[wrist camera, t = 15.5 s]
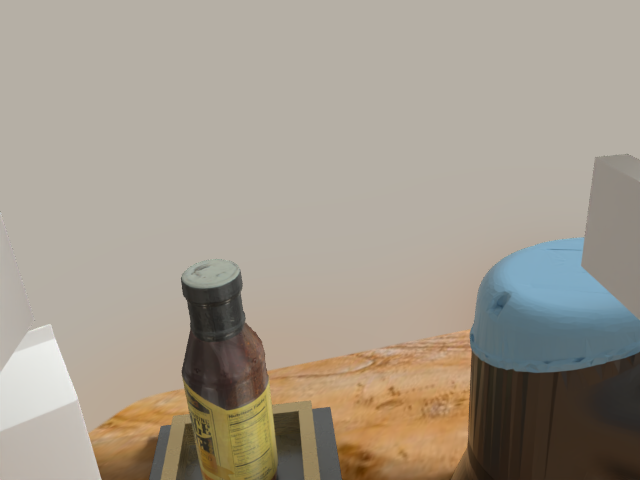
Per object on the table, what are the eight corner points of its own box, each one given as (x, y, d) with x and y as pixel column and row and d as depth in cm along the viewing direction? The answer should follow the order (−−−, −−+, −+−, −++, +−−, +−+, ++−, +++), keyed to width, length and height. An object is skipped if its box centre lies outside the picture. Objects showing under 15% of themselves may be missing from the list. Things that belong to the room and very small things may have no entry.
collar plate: (331, 419, 57) (328, 386, 55) (355, 571, 43) (352, 532, 41) (163, 438, 56) (156, 405, 55) (129, 600, 42) (118, 561, 40)
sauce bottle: (202, 462, 51) (162, 255, 43) (273, 446, 52) (248, 242, 44) (207, 524, 45) (162, 299, 37) (287, 504, 46) (260, 282, 38)
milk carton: (124, 556, 45) (63, 348, 37) (24, 612, 41) (-67, 394, 34) (97, 496, 50) (39, 303, 42) (7, 541, 47) (-75, 340, 39)
